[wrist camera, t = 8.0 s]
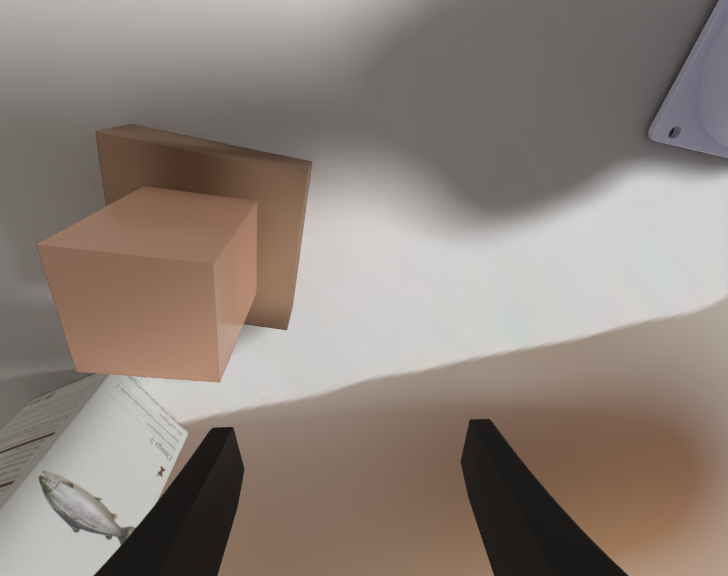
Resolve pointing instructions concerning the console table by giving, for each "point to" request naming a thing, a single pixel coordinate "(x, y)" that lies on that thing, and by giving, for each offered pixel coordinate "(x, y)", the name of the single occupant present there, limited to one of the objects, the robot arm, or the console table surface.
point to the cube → (155, 283)
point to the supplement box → (81, 475)
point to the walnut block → (221, 178)
